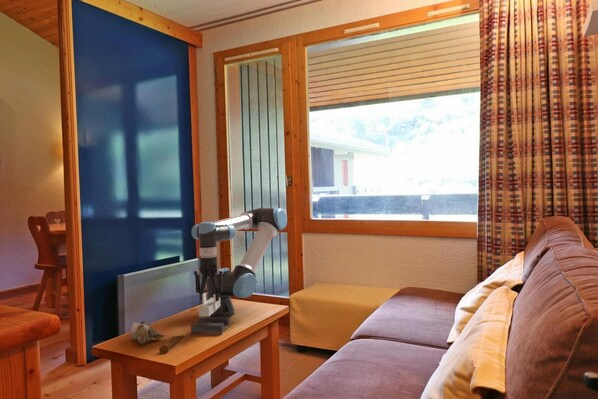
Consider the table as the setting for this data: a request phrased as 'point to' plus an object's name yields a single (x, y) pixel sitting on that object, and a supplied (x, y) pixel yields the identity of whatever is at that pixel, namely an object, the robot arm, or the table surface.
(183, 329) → the table surface
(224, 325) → the dark grey rimmed tray
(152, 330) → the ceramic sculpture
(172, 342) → the primitive tool
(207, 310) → the clay strip
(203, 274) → the robot arm
